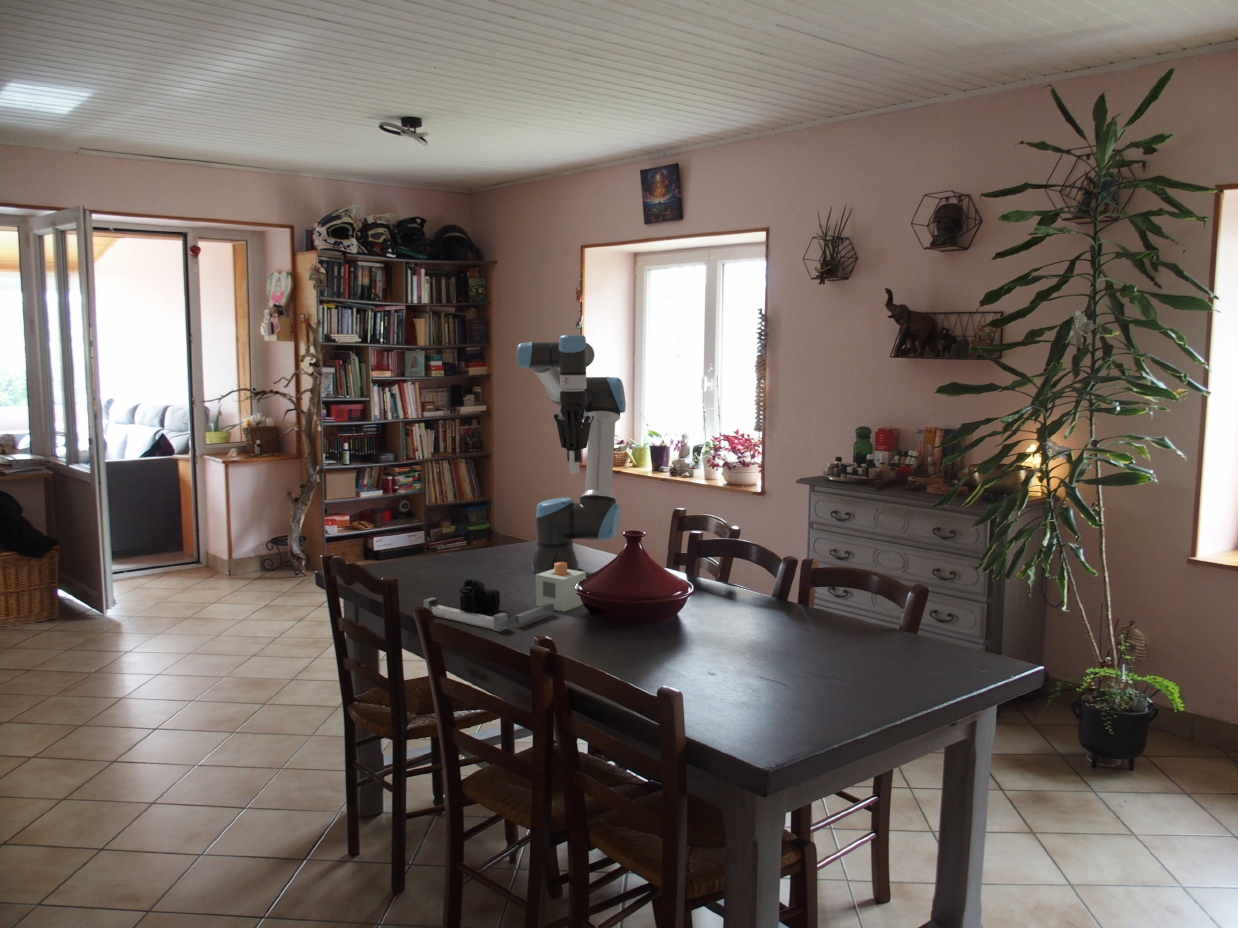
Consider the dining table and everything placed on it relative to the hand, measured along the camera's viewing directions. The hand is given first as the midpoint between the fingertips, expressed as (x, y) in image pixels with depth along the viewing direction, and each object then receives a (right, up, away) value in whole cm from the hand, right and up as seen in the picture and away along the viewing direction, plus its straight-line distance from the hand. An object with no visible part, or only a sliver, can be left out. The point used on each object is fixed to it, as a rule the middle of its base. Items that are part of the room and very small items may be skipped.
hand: (574, 473), depth 269 cm
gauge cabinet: (-4, -37, -2) cm, 37 cm away
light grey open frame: (-23, -38, -12) cm, 46 cm away
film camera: (-25, -38, -9) cm, 47 cm away
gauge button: (-4, -31, -3) cm, 32 cm away
